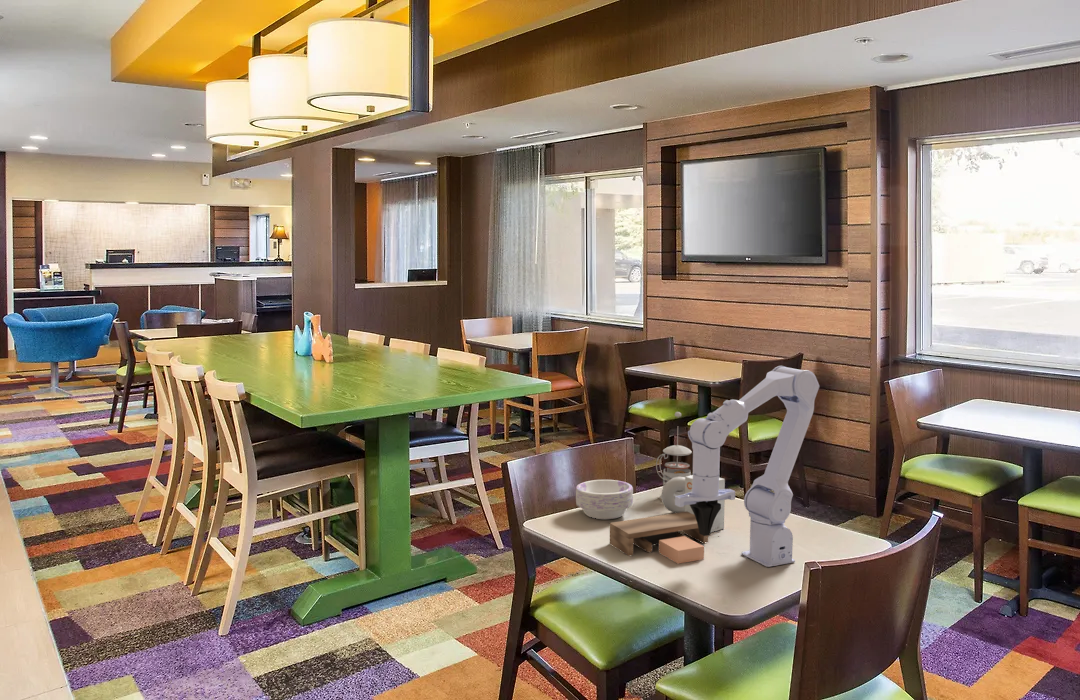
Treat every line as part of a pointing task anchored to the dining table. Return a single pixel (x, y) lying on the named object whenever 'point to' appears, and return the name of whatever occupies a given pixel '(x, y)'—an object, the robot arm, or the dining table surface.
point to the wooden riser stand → (653, 531)
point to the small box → (719, 518)
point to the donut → (669, 494)
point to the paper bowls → (604, 498)
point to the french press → (675, 463)
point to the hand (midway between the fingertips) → (704, 534)
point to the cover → (681, 549)
